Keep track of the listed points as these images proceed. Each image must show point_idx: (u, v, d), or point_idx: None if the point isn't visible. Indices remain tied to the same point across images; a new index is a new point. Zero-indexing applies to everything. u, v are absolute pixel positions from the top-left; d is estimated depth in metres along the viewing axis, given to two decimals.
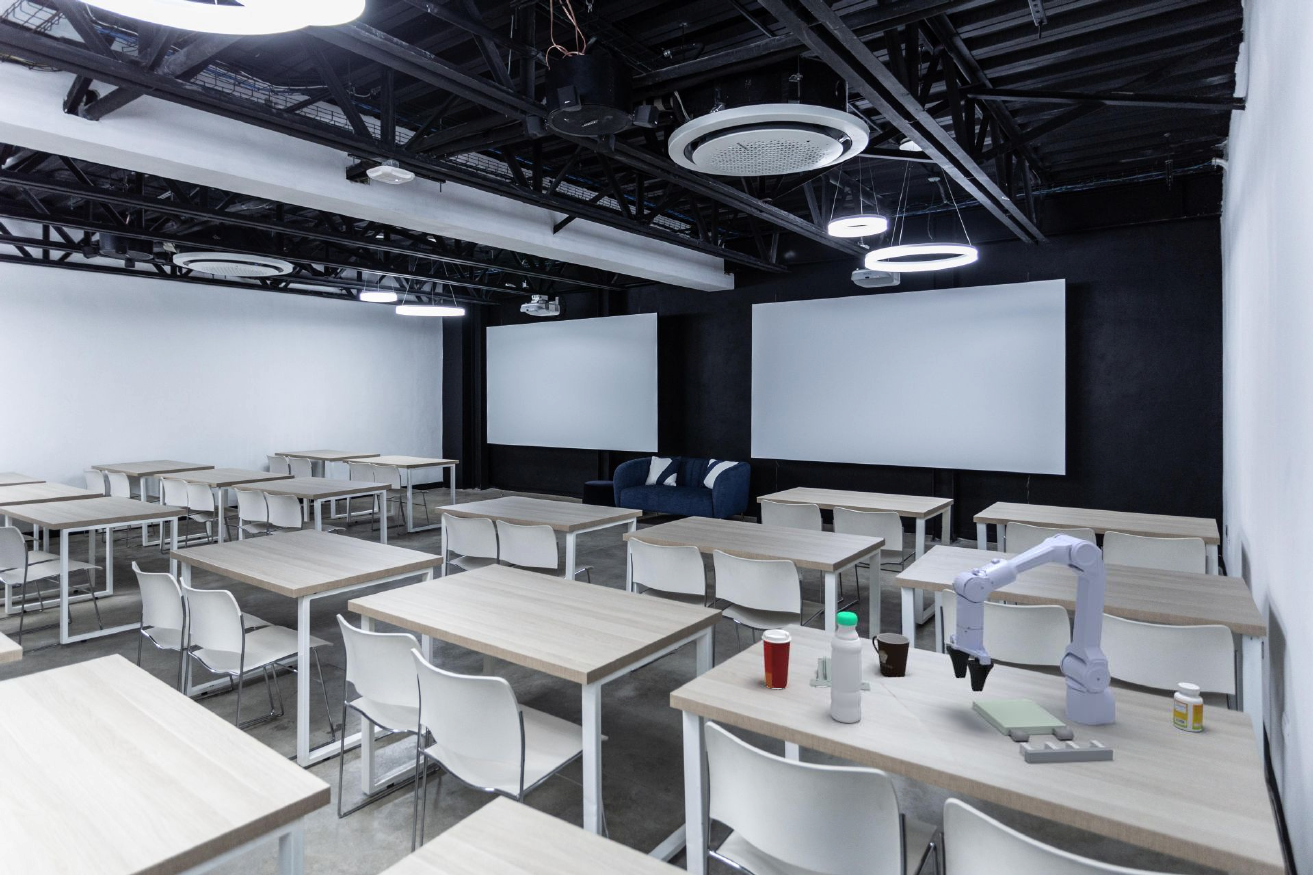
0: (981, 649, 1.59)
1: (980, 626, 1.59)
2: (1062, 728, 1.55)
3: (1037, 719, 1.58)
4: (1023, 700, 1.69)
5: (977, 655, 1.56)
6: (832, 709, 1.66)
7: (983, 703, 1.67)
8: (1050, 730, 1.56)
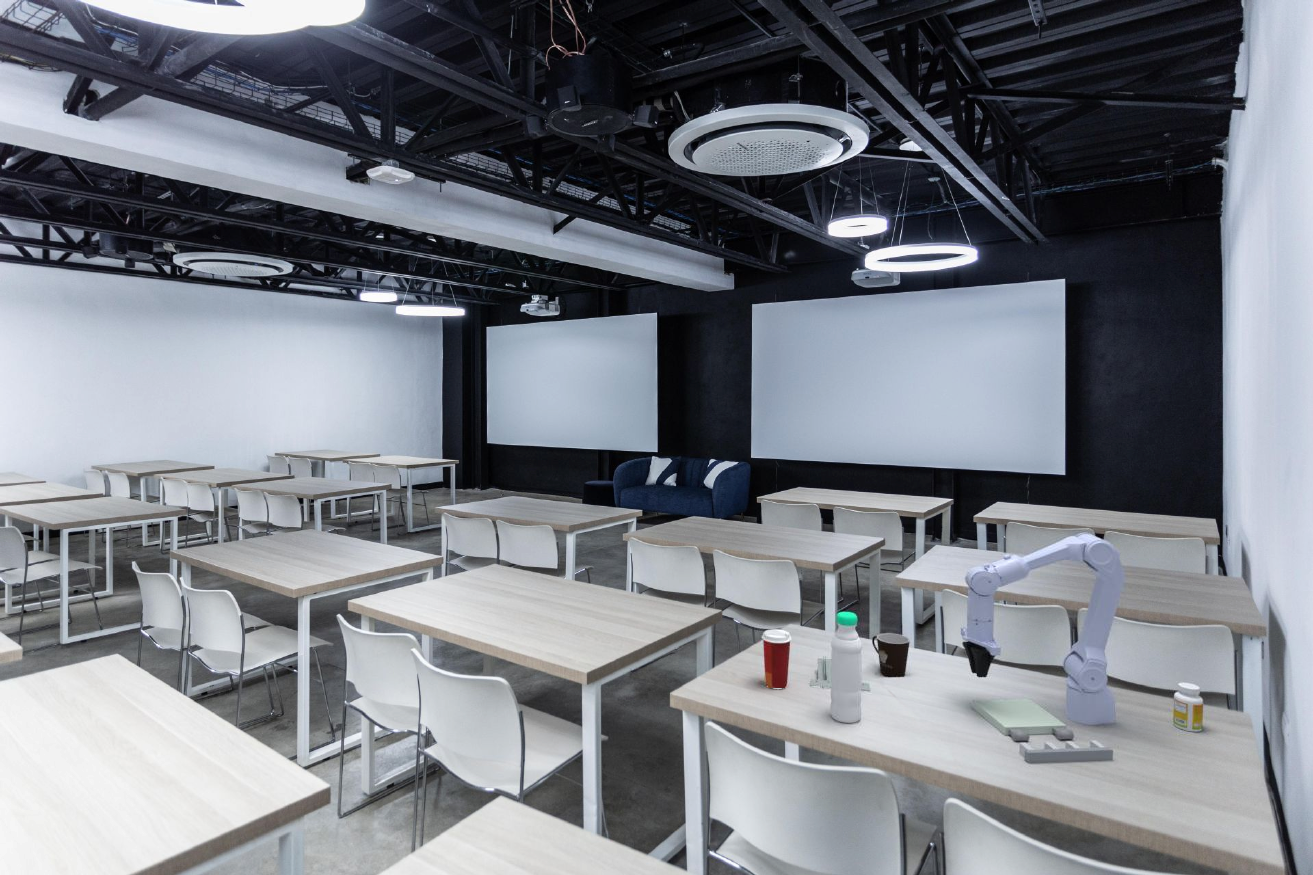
0: (991, 641, 1.65)
1: (988, 619, 1.64)
2: (1062, 728, 1.55)
3: (1037, 719, 1.58)
4: (1023, 700, 1.69)
5: (987, 646, 1.62)
6: (832, 709, 1.66)
7: (983, 703, 1.67)
8: (1050, 730, 1.56)
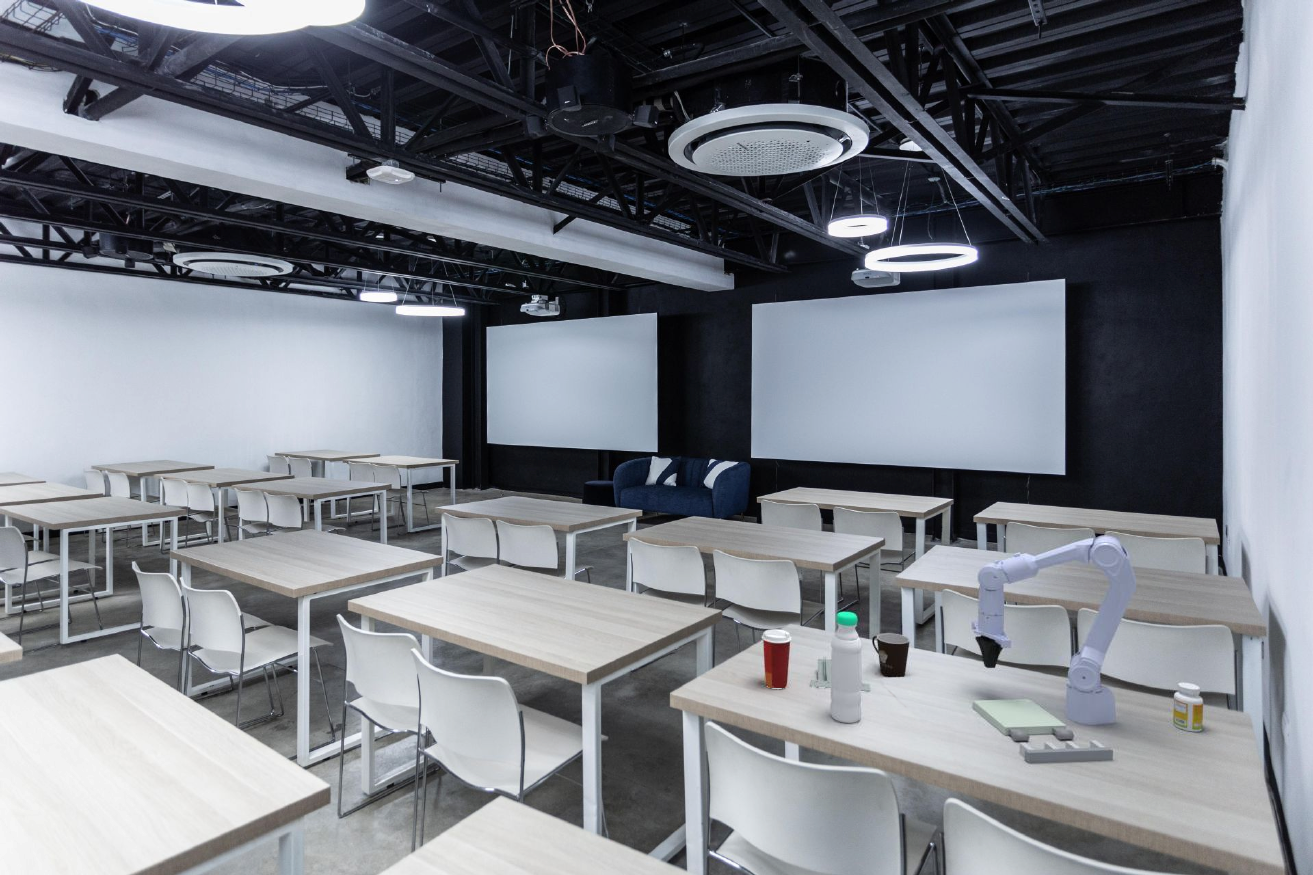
0: (1002, 634, 1.71)
1: (994, 613, 1.71)
2: (1062, 728, 1.55)
3: (1037, 719, 1.58)
4: (1023, 700, 1.69)
5: (998, 639, 1.68)
6: (832, 709, 1.66)
7: (983, 703, 1.67)
8: (1050, 730, 1.56)
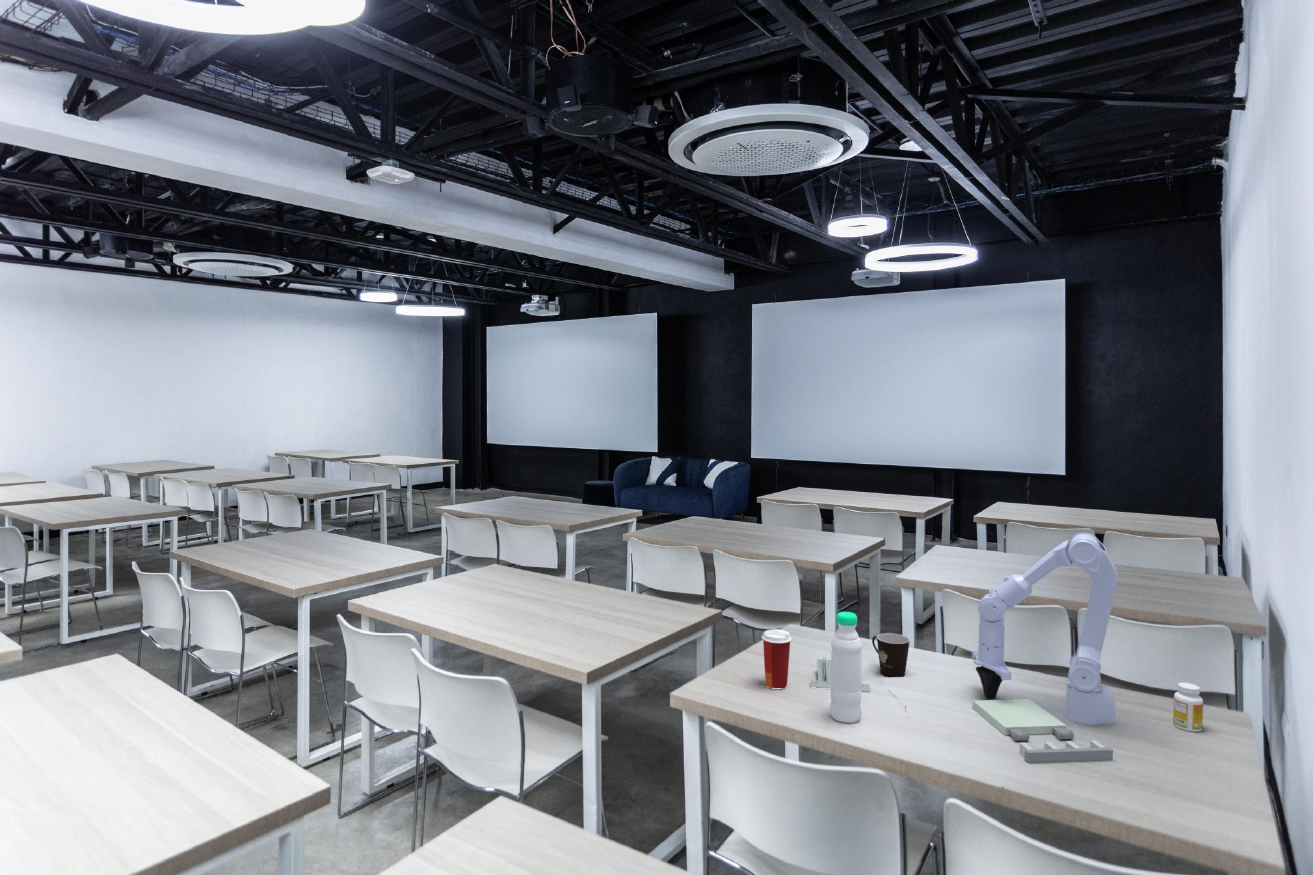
0: (1002, 665, 1.71)
1: (995, 644, 1.71)
2: (1062, 728, 1.55)
3: (1037, 719, 1.58)
4: (1023, 700, 1.69)
5: (999, 671, 1.68)
6: (832, 709, 1.66)
7: (983, 703, 1.67)
8: (1050, 730, 1.56)
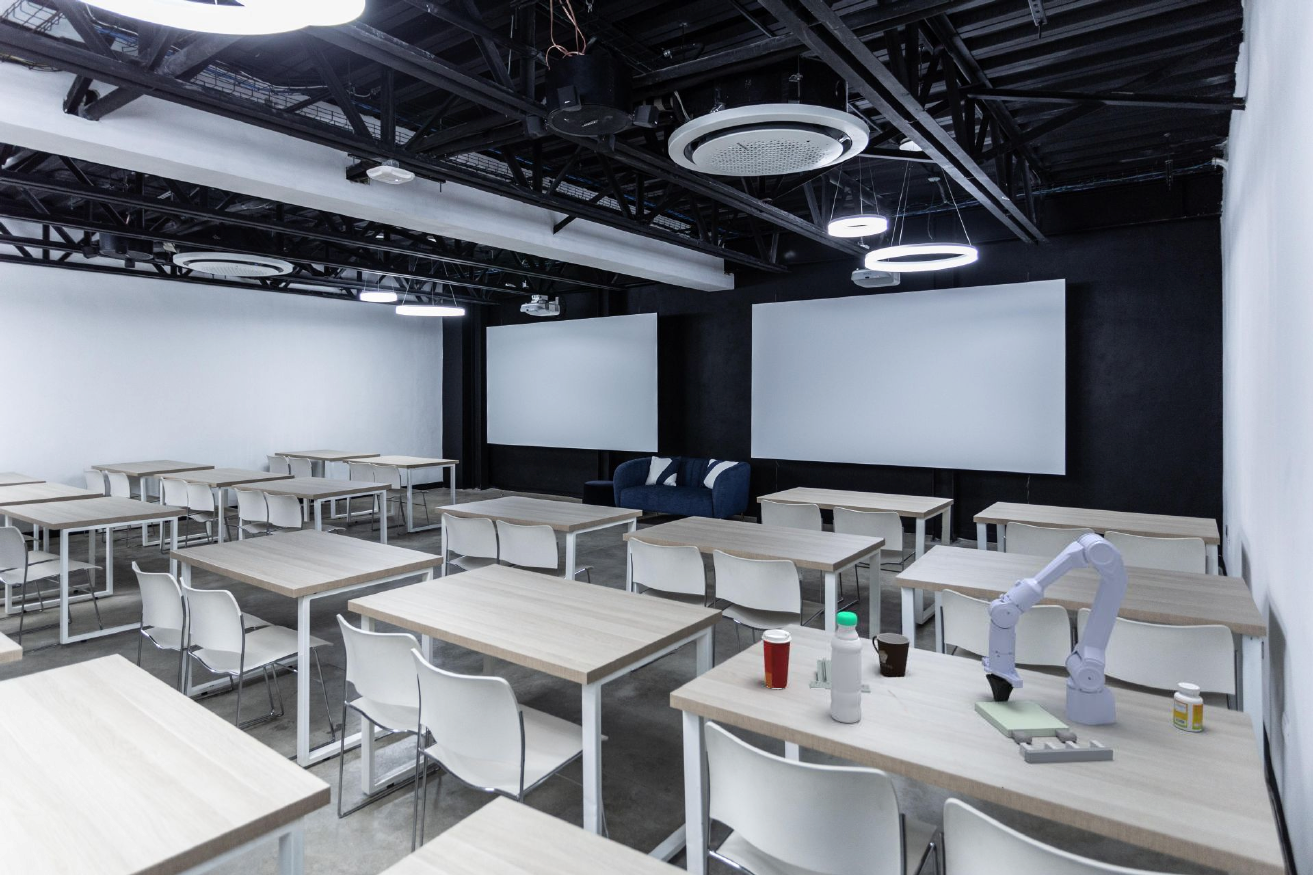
0: (1013, 673, 1.66)
1: (1008, 651, 1.66)
2: (1065, 730, 1.54)
3: (1040, 721, 1.57)
4: (1026, 702, 1.68)
5: (1010, 679, 1.63)
6: (832, 709, 1.66)
7: (985, 705, 1.66)
8: (1053, 732, 1.55)
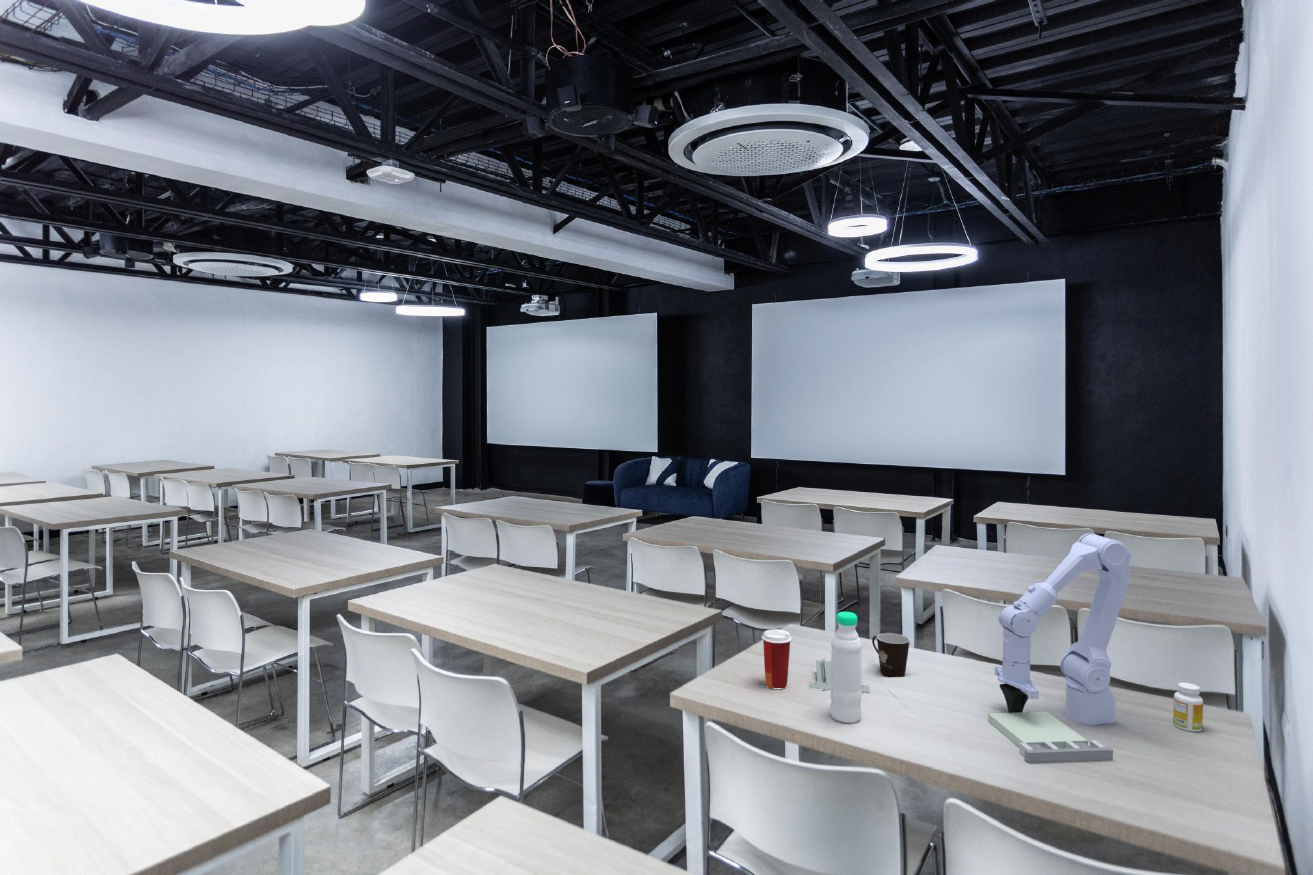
0: (1028, 683, 1.60)
1: (1027, 660, 1.60)
2: (1083, 743, 1.48)
3: (1057, 734, 1.51)
4: (1041, 713, 1.62)
5: (1025, 689, 1.57)
6: (832, 709, 1.66)
7: (999, 716, 1.60)
8: None
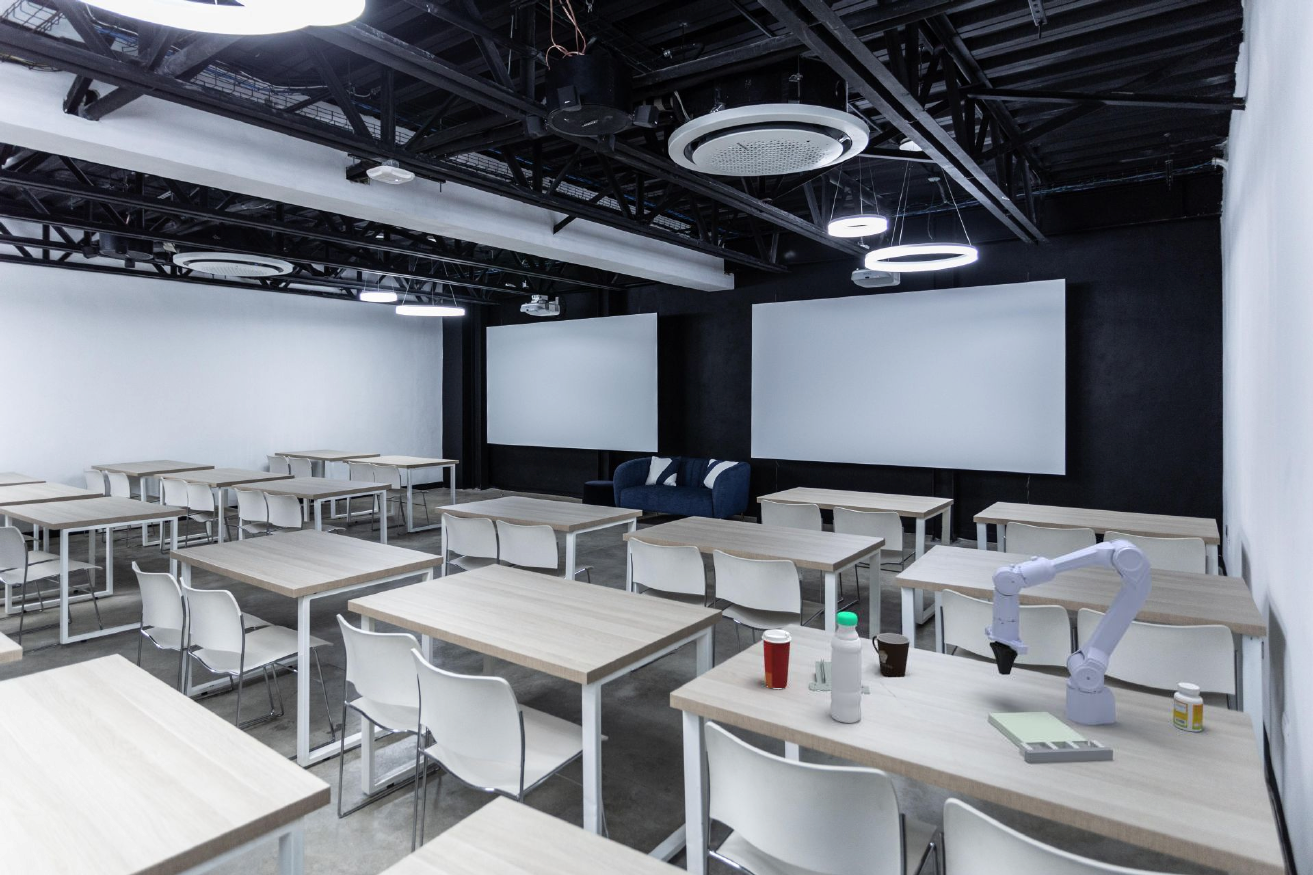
0: (1017, 640, 1.67)
1: (1012, 618, 1.66)
2: (1083, 743, 1.48)
3: (1057, 734, 1.51)
4: (1041, 713, 1.62)
5: (1014, 646, 1.63)
6: (832, 709, 1.66)
7: (999, 716, 1.60)
8: None
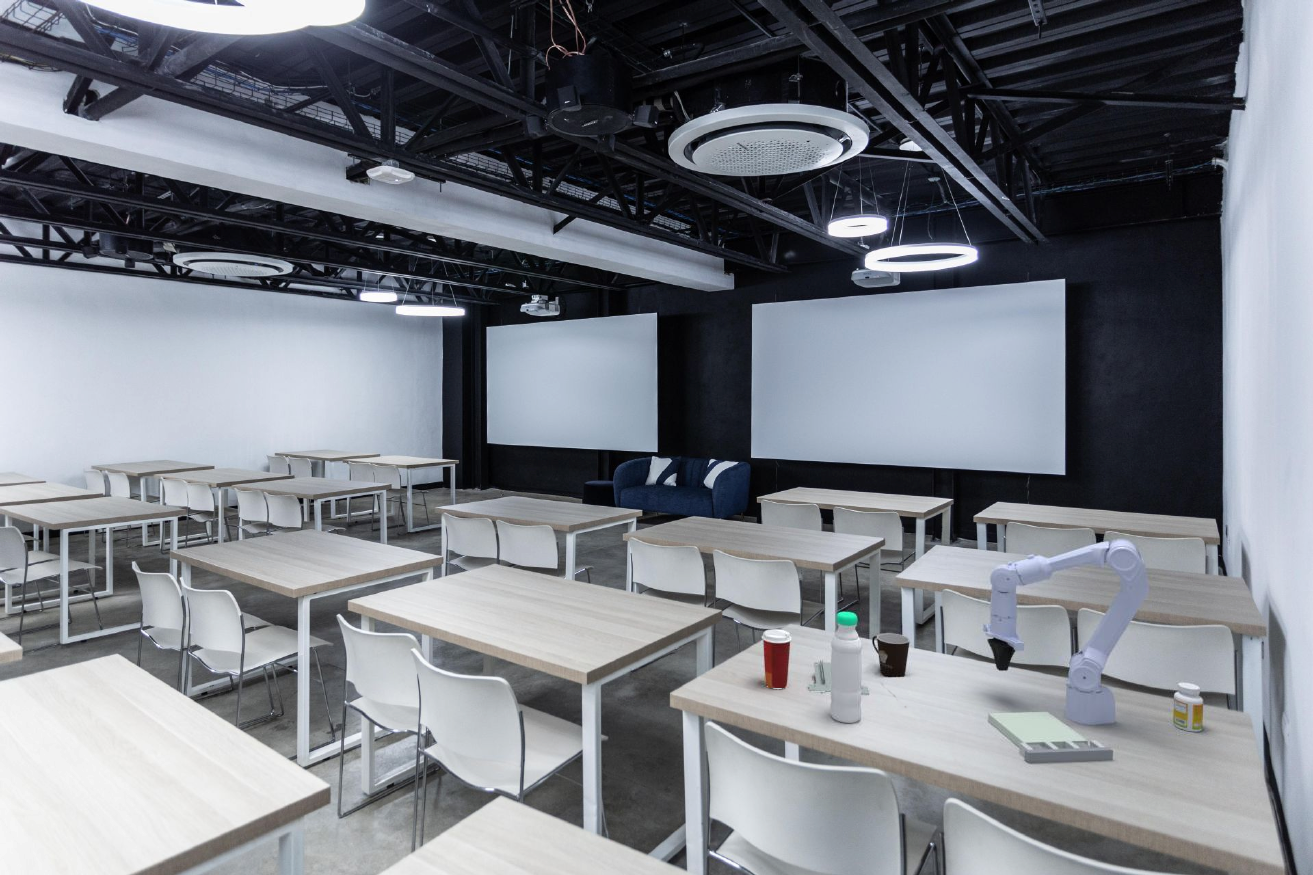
0: (1014, 636, 1.69)
1: (1007, 615, 1.69)
2: (1083, 743, 1.48)
3: (1057, 734, 1.51)
4: (1041, 713, 1.62)
5: (1011, 642, 1.66)
6: (832, 709, 1.66)
7: (999, 716, 1.60)
8: None
